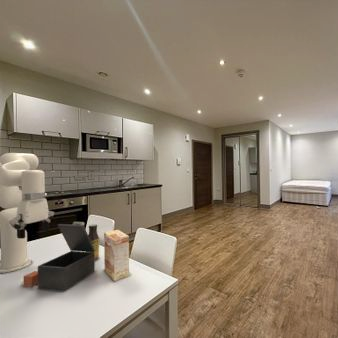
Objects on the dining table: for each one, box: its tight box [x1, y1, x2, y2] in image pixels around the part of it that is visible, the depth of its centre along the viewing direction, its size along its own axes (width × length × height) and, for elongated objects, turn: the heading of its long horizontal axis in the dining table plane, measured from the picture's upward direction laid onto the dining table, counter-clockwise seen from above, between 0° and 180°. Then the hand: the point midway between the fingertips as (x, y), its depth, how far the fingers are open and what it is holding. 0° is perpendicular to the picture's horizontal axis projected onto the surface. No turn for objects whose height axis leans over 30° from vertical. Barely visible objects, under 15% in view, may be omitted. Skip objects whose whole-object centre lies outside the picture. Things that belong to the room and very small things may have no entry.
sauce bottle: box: [87, 223, 100, 261], centre depth 110 cm, size 7×6×20 cm
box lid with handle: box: [57, 221, 95, 252], centre depth 97 cm, size 16×14×5 cm
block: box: [23, 270, 38, 288], centre depth 87 cm, size 4×4×4 cm
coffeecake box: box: [103, 229, 130, 282], centre depth 96 cm, size 15×7×20 cm, turn 47°
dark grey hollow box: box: [37, 250, 96, 292], centre depth 90 cm, size 16×14×10 cm
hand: (34, 234), depth 87 cm, fingers open, 9 cm apart
